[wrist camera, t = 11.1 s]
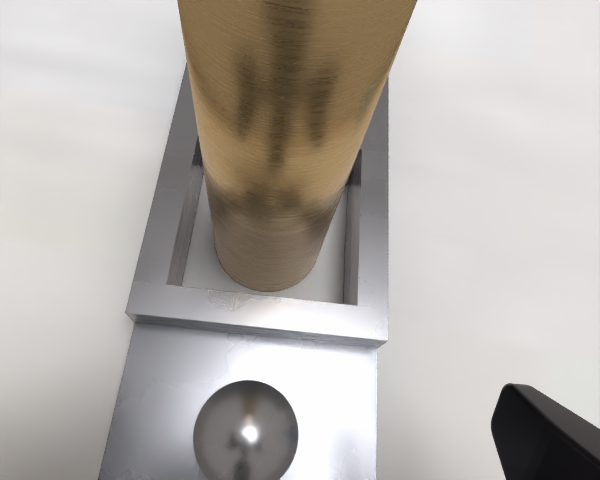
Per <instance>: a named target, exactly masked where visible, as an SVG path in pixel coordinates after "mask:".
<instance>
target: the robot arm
mask: <svg viewBox="0 0 600 480" xmlns="http://www.w3.org/2000/svg"><path fill="white" fill-rule="evenodd" d="M491 431H492V435H493V439H494V442H495V445H496V448H497V452H498V455H499V458H500V461H501V465H502V468H503V471H504V474H505V478H506V480H600V429H599V428H597V427H596V426H594V425H592V424H591V423H589V422H588V421H586V420H584V419H583V418H581V417H580V416H578V415H576V414H575V413H573V412H572V411H570V410H568V409H567V408H565V407H564V406H562V405H560V404H559V403H557V402H556V401H554V400H552V399H551V398H549V397H548V396H546V395H544V394H543V393H541V392H540V391H538V390H536V389H535V388H533V387H531V386H529V385H523V384H512V383H508V384H506V385H505V386H504V387H503V388H502V391H501V393H500V396H499V399H498V402H497V405H496V408H495V411H494V413H493V416H492V420H491Z"/></svg>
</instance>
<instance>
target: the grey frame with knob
mask: <svg viewBox="0 0 600 480" xmlns="http://www.w3.org/2000/svg"><path fill="white" fill-rule="evenodd" d="M203 173H204V168H203V161H202V155H201V149H200V142H199V136H198V129H197V123H196V116H195V110H194V104H193V97H192V91H191V84H190V78H189V71H188V65H187V63H186V67H185V71H184V76H183V80H182V84H181V88H180V92H179V96H178V100H177V104H176V108H175V112H174V116H173V120H172V124H171V128H170V132H169V137H168V141H167V145H166V149H165V153H164V157H163V161H162V165H161V169H160V173H159V177H158V181H157V185H156V189H155V193H154V198H153V202H152V206H151V210H150V214H149V218H148V222H147V226H146V230H145V234H144V238H143V242H142V246H141V250H140V254H139V258H138V263H137V267H136V271H135V275H134V279H133V283H132V287H131V291H130V295H129V299H128V303H127V307H126V311H125V313H126V314H127V315H128V316H129V317H130V319H131V320H132V321H133V322H134V323H135V324H134V329H133V333H132V337H131V341H130V346H129V350H128V354H127V359H126V363H125V367H124V371H123V376H122V380H121V384H120V388H119V393H118V397H117V401H116V405H115V410H114V414H113V418H112V422H111V427H110V431H109V435H108V439H107V444H106V448H105V452H104V457H103V461H102V465H101V469H100V474H99V478H98V480H376V423H377V348H379V347H380V346H381V345H383V344H384V343H386V342H387V341H388V77H387V79H386V82H385V85H384V87H383V90H382V92H381V95H380V97H379V100H378V103H377V105H376V108H375V110H374V113H373V115H372V118H371V121H370V123H369V126H368V128H367V131H366V133H365V136H364V139H363V141H362V144H361V146H360V149H359V151H358V154H357V157H356V159H355V162H354V164H353V167H352V169H351V172H350V175H349V177H348V180H347V182H346V184H348V200H347V223H346V246H345V270H344V293H343V304H337V303H327V302H318V301H309V300H300V299H291V298H282V297H273V296H264V295H255V294H246V293H237V292H228V291H219V290H210V289H201V288H192V287H183V286H181V284H182V279H183V274H184V269H185V264H186V259H187V254H188V249H189V244H190V239H191V234H192V229H193V224H194V219H195V214H196V208H197V203H198V198H199V193H200V188H201V183H202V178H203Z"/></svg>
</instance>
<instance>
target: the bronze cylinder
mask: <svg viewBox="0 0 600 480" xmlns="http://www.w3.org/2000/svg"><path fill="white" fill-rule="evenodd" d="M177 1H178V7H179V14H180V20H181V26H182V33H183V39H184V46H185V52H186V59H187V65H188V71H189V78H190V84H191V91H192V97H193V104H194V110H195V116H196V123H197V129H198V136H199V142H200V149H201V155H202V161H203V168H204V174H205V181H206V187H207V194H208V200H209V206H210V213H211V219H212V226H213V232H214V239H215V245H216V251H217V255H218V259H219V261H220V263H221V265H222V267H223V268H224V270H225V271H226V272H227V274H228V275H229V276H230V277H231V278H232V279H234V280H235V281H236V282H238V283H239V284H241V285H243V286H245V287H247V288H250V289H253V290H257V291H265V292H270V291H279V290H283V289H287V288H289V287H291V286H293V285H295V284H297V283H299V282H300V281H301V280H302V279H304V278H305V277H306V276H307V275H308V273H309V272H310V271H311V269H312V268H313V266H314V264H315V262H316V259H317V257H318V254H319V252H320V249H321V247H322V244H323V241H324V239H325V236H326V234H327V231H328V229H329V226H330V223H331V221H332V218H333V216H334V213H335V211H336V208H337V205H338V203H339V200H340V198H341V195H342V193H343V190H344V187H345V185H346V182H347V180H348V177H349V175H350V172H351V169H352V167H353V164H354V162H355V159H356V157H357V154H358V151H359V149H360V146H361V144H362V141H363V139H364V136H365V133H366V131H367V128H368V126H369V123H370V121H371V118H372V115H373V113H374V110H375V108H376V105H377V103H378V100H379V97H380V95H381V92H382V90H383V87H384V85H385V82H386V79H387V77H388V74H389V72H390V69H391V67H392V64H393V61H394V59H395V56H396V54H397V51H398V49H399V46H400V43H401V41H402V38H403V36H404V33H405V31H406V28H407V25H408V23H409V20H410V18H411V15H412V13H413V10H414V7H415V5H416V2H417V0H177Z"/></svg>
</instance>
